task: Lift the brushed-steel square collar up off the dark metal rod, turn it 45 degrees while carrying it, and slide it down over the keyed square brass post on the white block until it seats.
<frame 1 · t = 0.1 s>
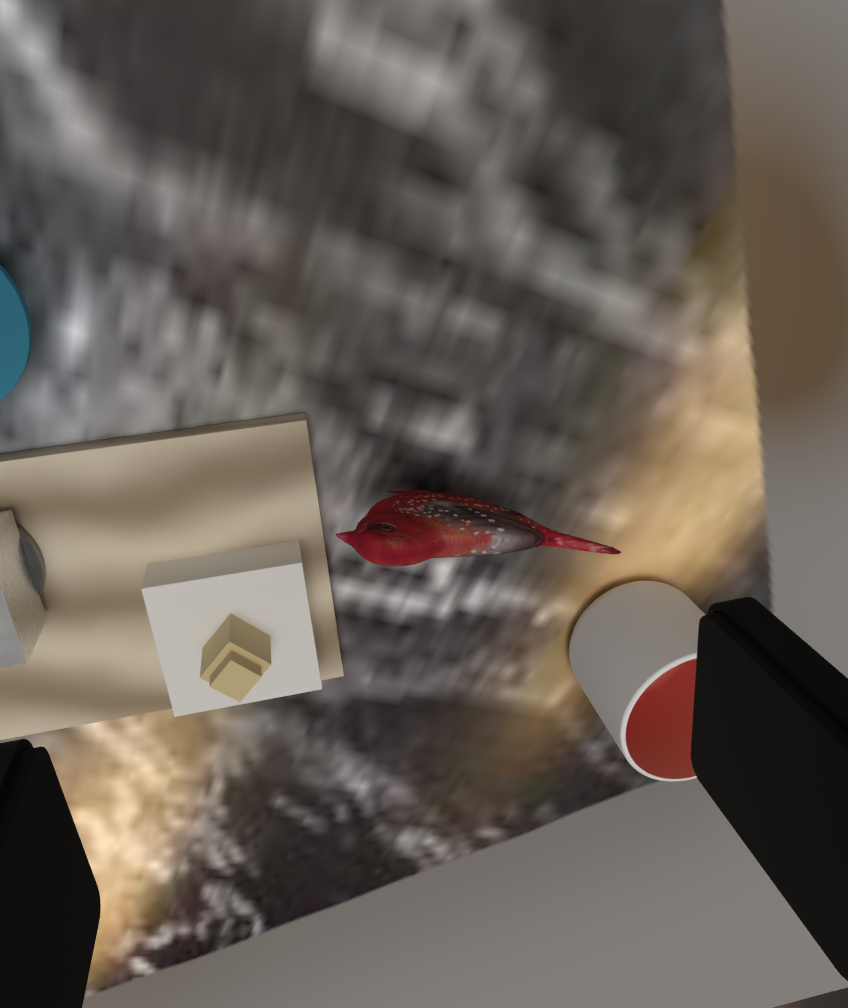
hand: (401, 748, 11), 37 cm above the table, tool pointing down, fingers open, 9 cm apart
decorative bird figurine: (458, 496, 51), on the table
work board: (113, 581, 48), on the table
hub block: (237, 603, 51), resting on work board
cup: (625, 631, 58), on the table
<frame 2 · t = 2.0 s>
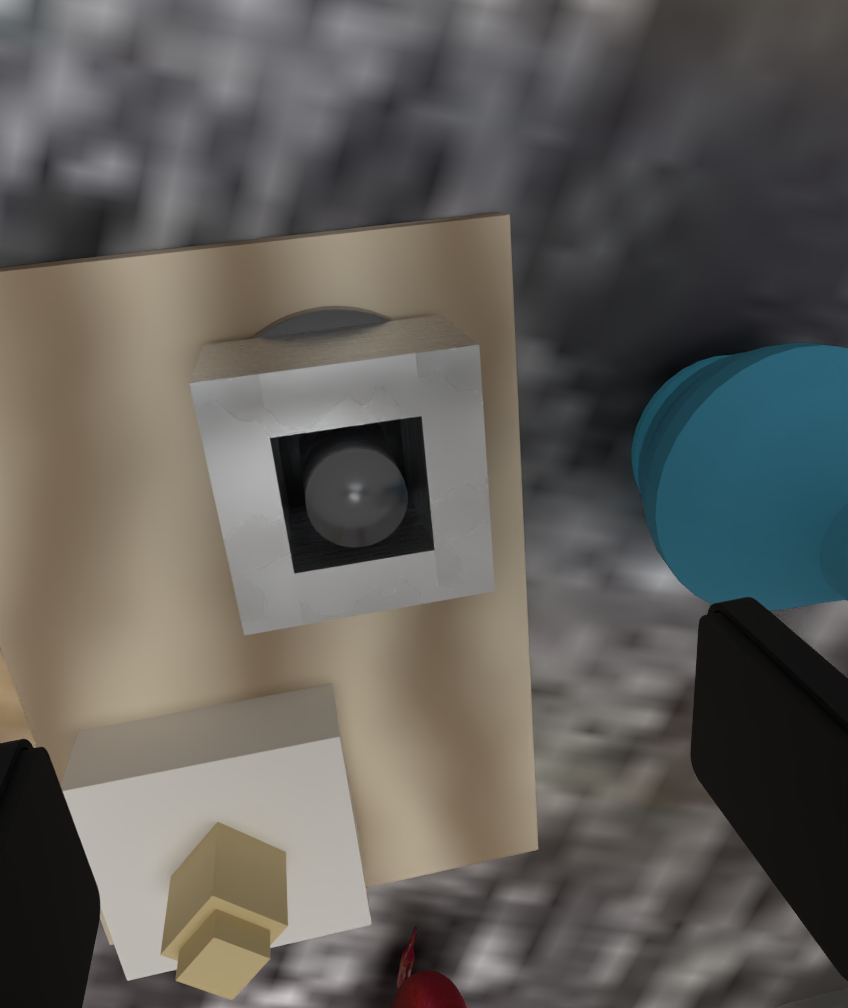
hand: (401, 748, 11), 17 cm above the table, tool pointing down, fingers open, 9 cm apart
decorative bird figurine: (395, 988, 38), on the table
rod stand: (334, 419, 27), resting on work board
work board: (279, 611, 29), on the table
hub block: (233, 774, 32), resting on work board
steel collar: (341, 442, 24), point 2 cm above the table, touching rod stand
perfume bottle: (711, 440, 30), on the table
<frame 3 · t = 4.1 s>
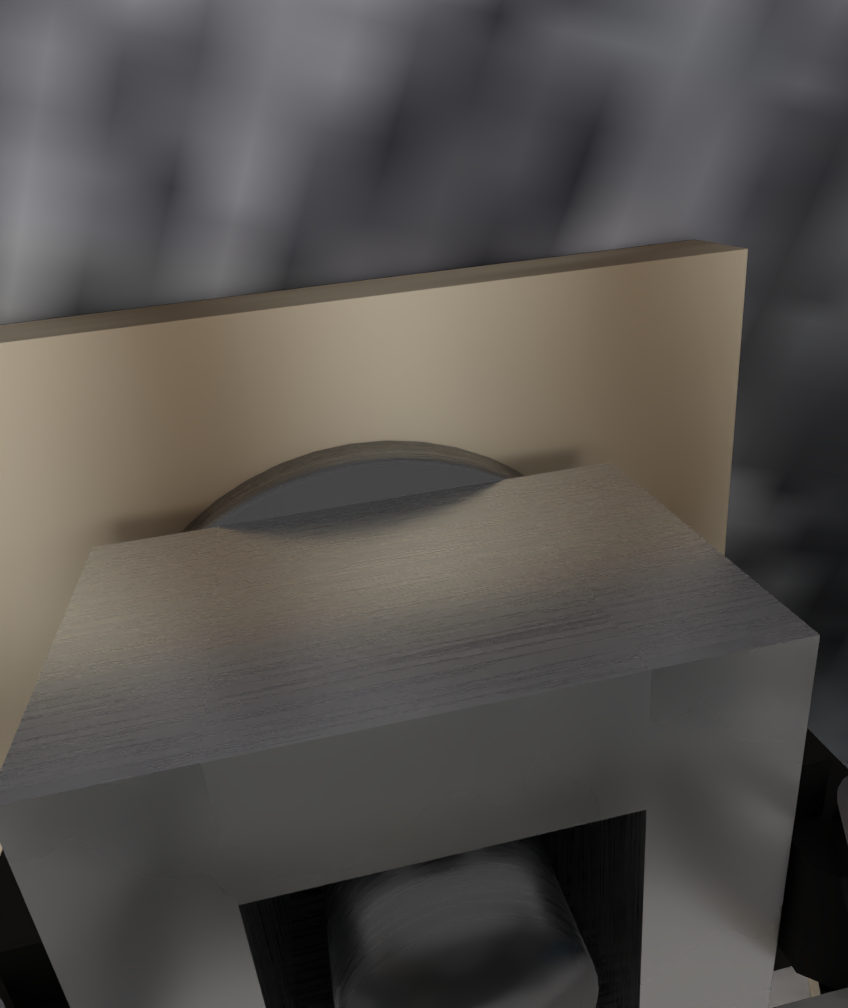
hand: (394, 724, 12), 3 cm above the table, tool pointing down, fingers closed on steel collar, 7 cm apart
rod stand: (369, 625, 14), resting on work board
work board: (268, 930, 17), on the table
steel collar: (391, 711, 12), point 2 cm above the table, touching gripper, rod stand
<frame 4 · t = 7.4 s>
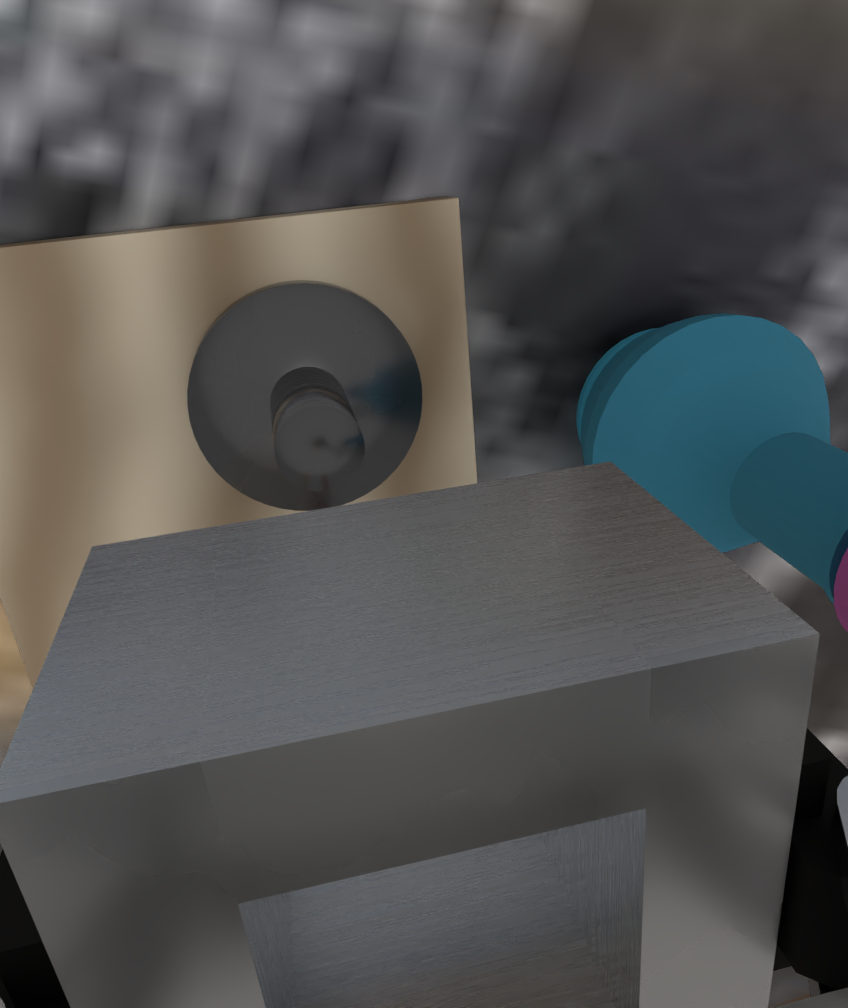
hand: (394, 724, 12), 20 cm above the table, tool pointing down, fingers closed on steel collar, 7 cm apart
rod stand: (303, 385, 29), resting on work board
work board: (255, 564, 32), on the table
steel collar: (391, 711, 12), point 19 cm above the table, touching gripper
perfume bottle: (649, 406, 33), on the table
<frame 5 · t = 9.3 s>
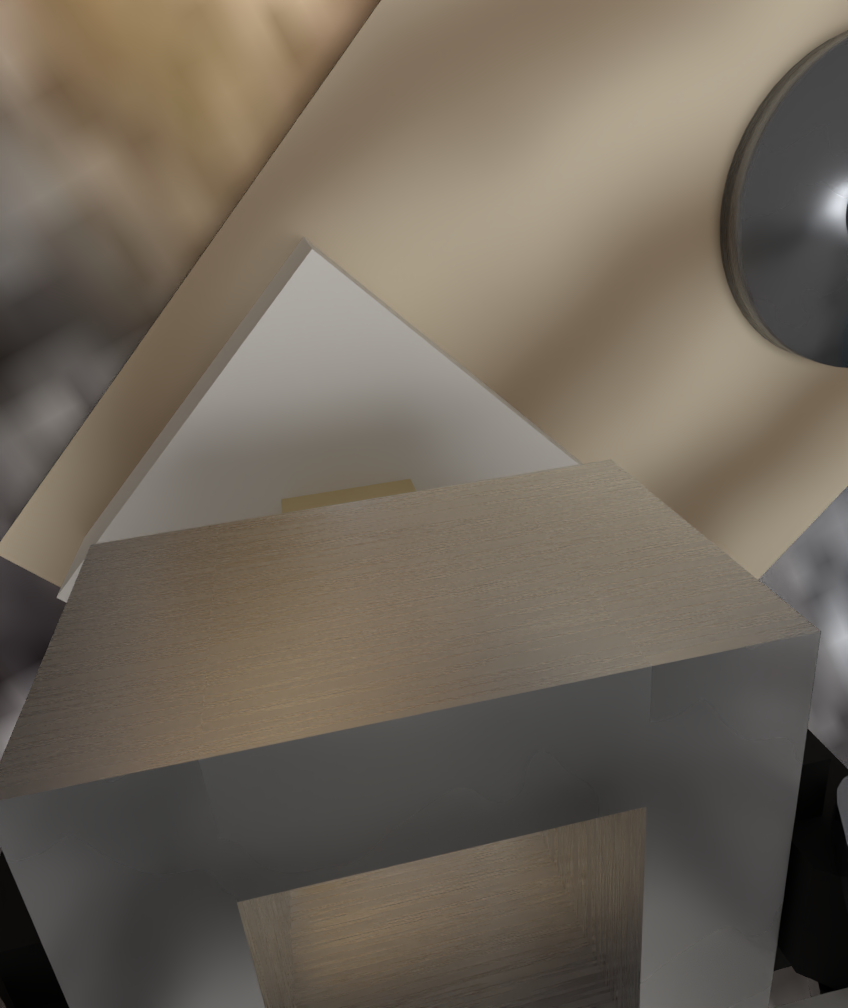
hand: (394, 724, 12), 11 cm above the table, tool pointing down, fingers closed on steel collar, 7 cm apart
rod stand: (827, 200, 21), resting on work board
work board: (579, 339, 21), on the table
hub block: (336, 475, 22), resting on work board
steel collar: (391, 709, 12), point 11 cm above the table, touching gripper
when the fingers open (5 cm above the table, at t = 11.1 s): steel collar stays where it is, resting on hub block.
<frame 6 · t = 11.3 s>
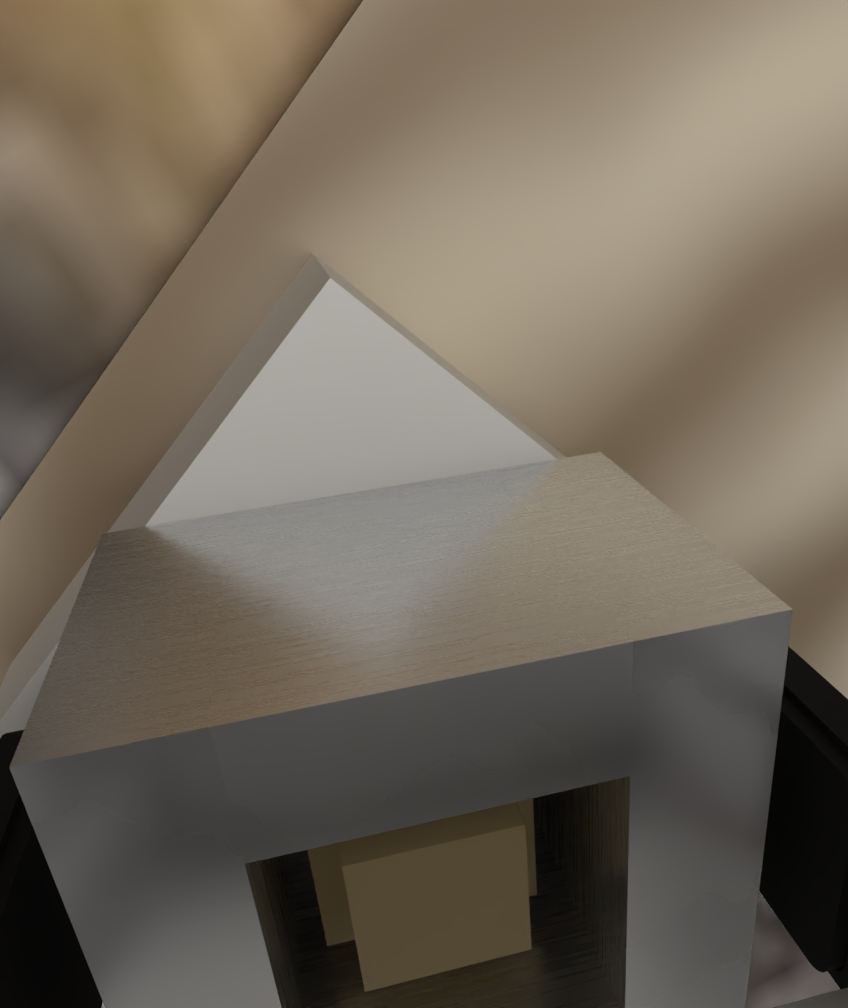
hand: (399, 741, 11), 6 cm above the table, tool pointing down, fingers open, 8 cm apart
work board: (673, 383, 16), on the table
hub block: (352, 562, 16), resting on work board
steel collar: (390, 694, 12), point 4 cm above the table, touching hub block
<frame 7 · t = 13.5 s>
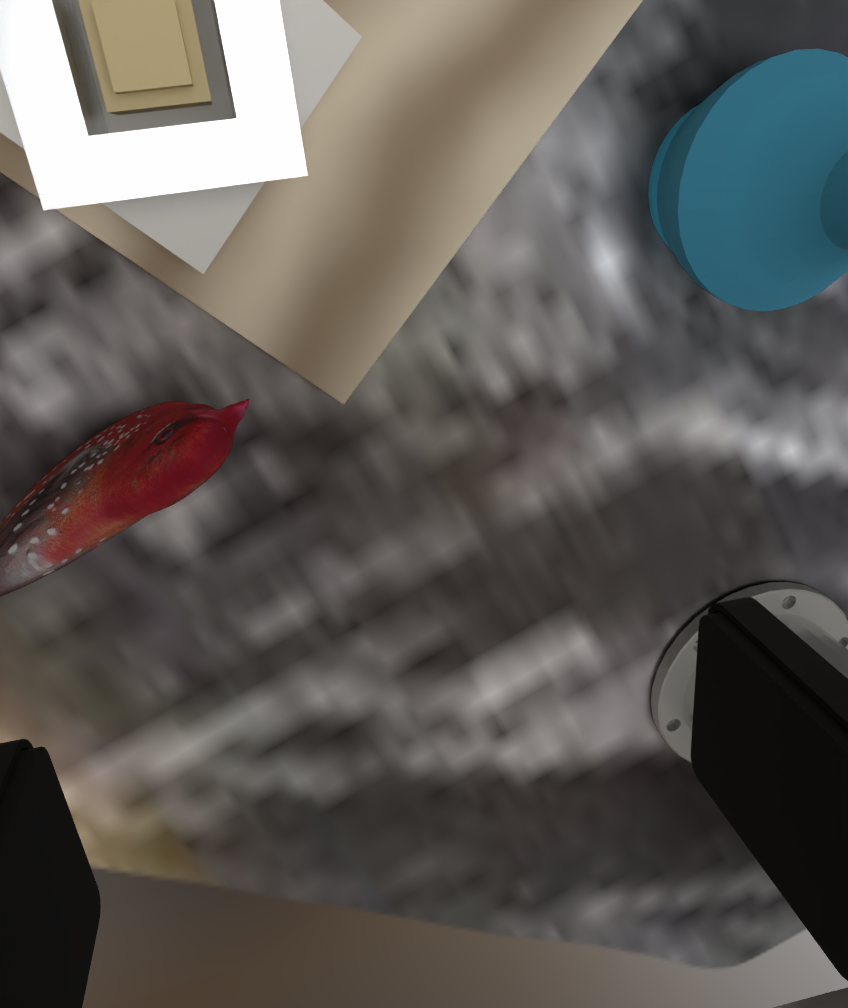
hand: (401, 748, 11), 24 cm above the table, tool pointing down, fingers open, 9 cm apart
decorative bird figurine: (76, 472, 33), on the table
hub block: (163, 69, 28), resting on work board
steel collar: (156, 59, 24), point 4 cm above the table, touching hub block
perfume bottle: (716, 181, 34), on the table
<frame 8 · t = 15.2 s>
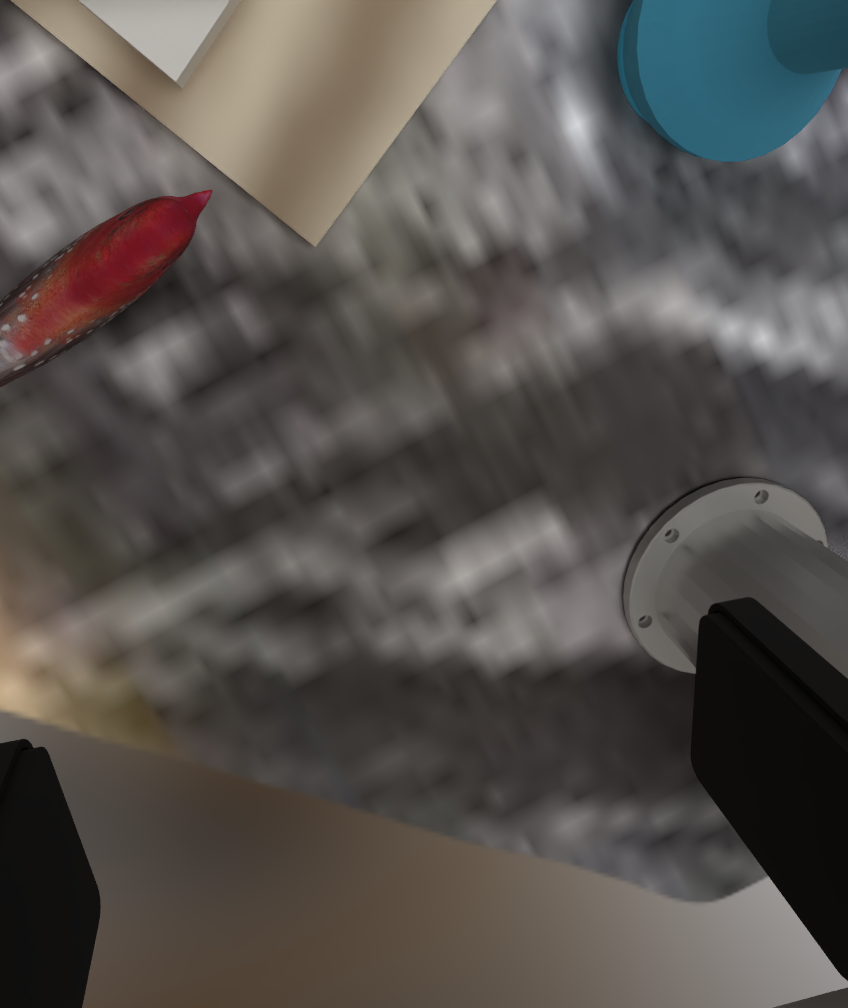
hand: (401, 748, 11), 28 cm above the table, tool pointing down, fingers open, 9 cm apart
decorative bird figurine: (58, 307, 34), on the table
perfume bottle: (684, 50, 35), on the table
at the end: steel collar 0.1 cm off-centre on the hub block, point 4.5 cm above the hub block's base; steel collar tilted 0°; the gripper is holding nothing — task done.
